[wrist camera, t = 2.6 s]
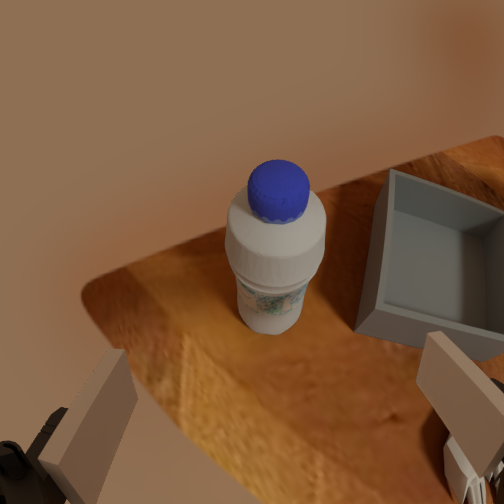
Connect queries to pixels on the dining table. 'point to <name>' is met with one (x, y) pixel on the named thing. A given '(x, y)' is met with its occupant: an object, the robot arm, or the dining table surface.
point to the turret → (465, 474)
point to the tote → (434, 268)
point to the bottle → (274, 244)
